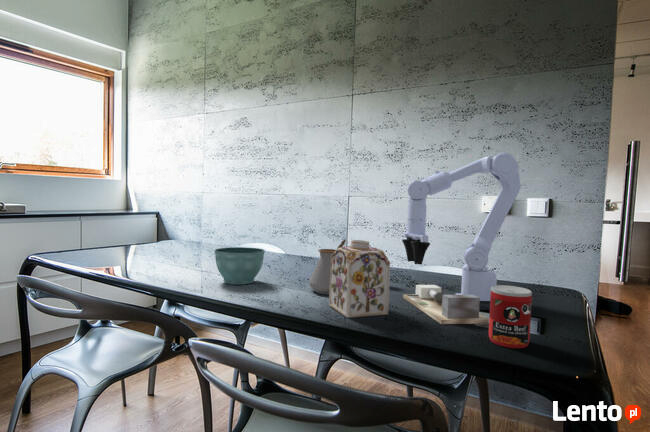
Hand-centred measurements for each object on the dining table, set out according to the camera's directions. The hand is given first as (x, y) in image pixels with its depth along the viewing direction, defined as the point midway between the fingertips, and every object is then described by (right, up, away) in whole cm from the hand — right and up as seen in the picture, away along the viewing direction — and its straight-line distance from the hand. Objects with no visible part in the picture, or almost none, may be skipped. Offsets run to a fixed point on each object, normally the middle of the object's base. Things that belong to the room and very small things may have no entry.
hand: (414, 262), depth 123 cm
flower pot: (-57, -7, +5) cm, 58 cm away
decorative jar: (-20, -10, -23) cm, 32 cm away
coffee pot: (-26, -9, +1) cm, 27 cm away
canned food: (+9, -11, -43) cm, 45 cm away
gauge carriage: (0, -9, -14) cm, 16 cm away
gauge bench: (+3, -10, -19) cm, 22 cm away
